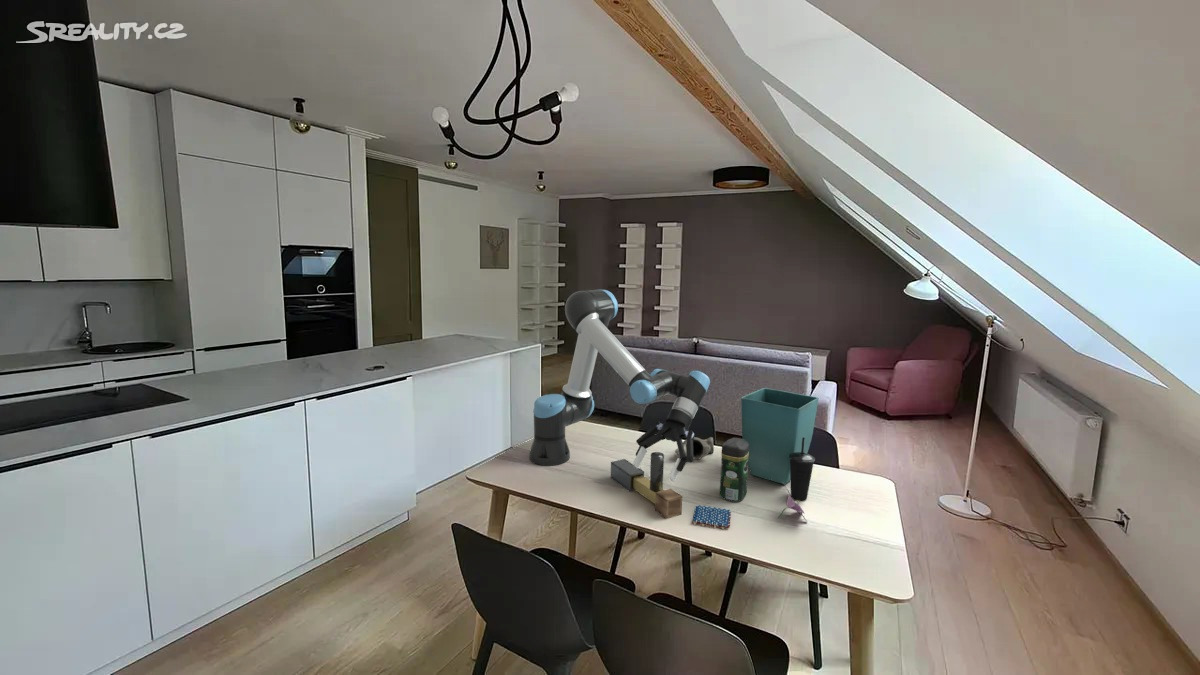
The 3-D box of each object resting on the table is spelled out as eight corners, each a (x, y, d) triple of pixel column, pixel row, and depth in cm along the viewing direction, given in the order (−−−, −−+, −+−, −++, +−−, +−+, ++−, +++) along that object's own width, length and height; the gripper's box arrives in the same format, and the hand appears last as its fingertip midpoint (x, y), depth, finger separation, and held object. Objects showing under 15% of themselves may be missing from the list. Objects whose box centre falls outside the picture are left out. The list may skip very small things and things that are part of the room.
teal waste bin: (759, 458, 195) (764, 386, 191) (813, 473, 182) (819, 396, 178) (735, 475, 180) (740, 397, 176) (792, 492, 167) (798, 409, 163)
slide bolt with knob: (624, 482, 170) (625, 440, 168) (634, 480, 172) (635, 438, 170) (666, 512, 151) (668, 465, 148) (677, 509, 153) (679, 462, 150)
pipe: (684, 472, 201) (684, 466, 188) (672, 452, 205) (671, 445, 191) (719, 450, 202) (722, 443, 189) (706, 431, 206) (708, 423, 192)
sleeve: (610, 477, 177) (610, 461, 176) (624, 474, 179) (624, 458, 178) (629, 491, 166) (630, 475, 165) (643, 488, 169) (644, 471, 168)
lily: (801, 536, 143) (819, 507, 143) (762, 510, 148) (780, 482, 148) (802, 529, 154) (818, 502, 154) (766, 505, 159) (782, 479, 158)
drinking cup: (810, 494, 167) (815, 435, 163) (812, 504, 159) (817, 443, 156) (785, 490, 169) (790, 432, 166) (786, 500, 162) (790, 440, 159)
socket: (655, 510, 154) (655, 492, 153) (669, 506, 157) (670, 488, 156) (666, 518, 150) (667, 500, 149) (681, 514, 152) (682, 496, 151)
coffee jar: (725, 487, 171) (728, 433, 168) (749, 493, 167) (752, 438, 164) (715, 498, 163) (718, 442, 160) (740, 505, 159) (744, 448, 156)
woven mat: (729, 532, 144) (730, 526, 143) (691, 526, 147) (691, 520, 146) (731, 514, 153) (731, 508, 153) (695, 509, 156) (695, 503, 156)
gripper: (720, 429, 158) (692, 491, 150) (654, 412, 175) (626, 466, 166) (712, 417, 153) (682, 479, 145) (645, 400, 170) (615, 456, 161)
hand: (652, 473), depth 155 cm, fingers open, 13 cm apart
